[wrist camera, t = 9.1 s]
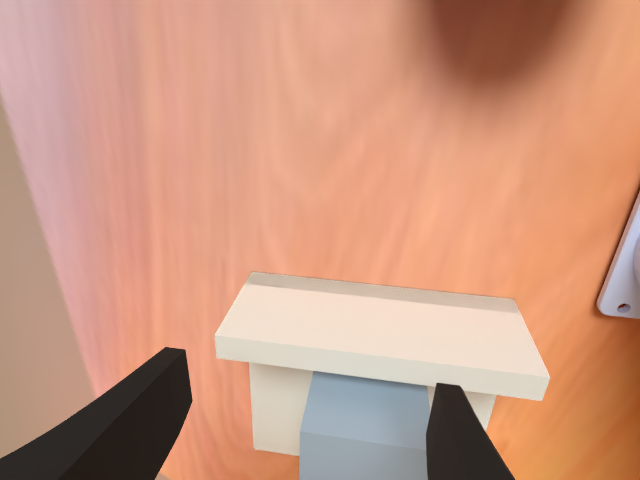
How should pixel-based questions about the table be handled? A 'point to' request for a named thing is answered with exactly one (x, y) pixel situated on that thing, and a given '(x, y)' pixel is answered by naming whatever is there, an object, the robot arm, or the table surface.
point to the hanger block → (363, 429)
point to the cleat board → (371, 345)
